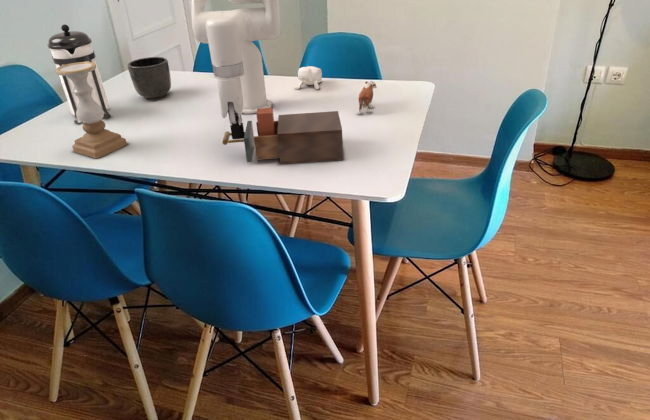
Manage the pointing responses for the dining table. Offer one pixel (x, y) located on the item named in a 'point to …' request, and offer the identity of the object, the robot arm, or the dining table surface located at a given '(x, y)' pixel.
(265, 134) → the block
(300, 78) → the white lamb toy
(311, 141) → the cabinet
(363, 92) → the bull figurine
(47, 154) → the dining table surface
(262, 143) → the drawer
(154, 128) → the dining table surface
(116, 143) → the candle holder
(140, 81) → the planter
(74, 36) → the coffee press
